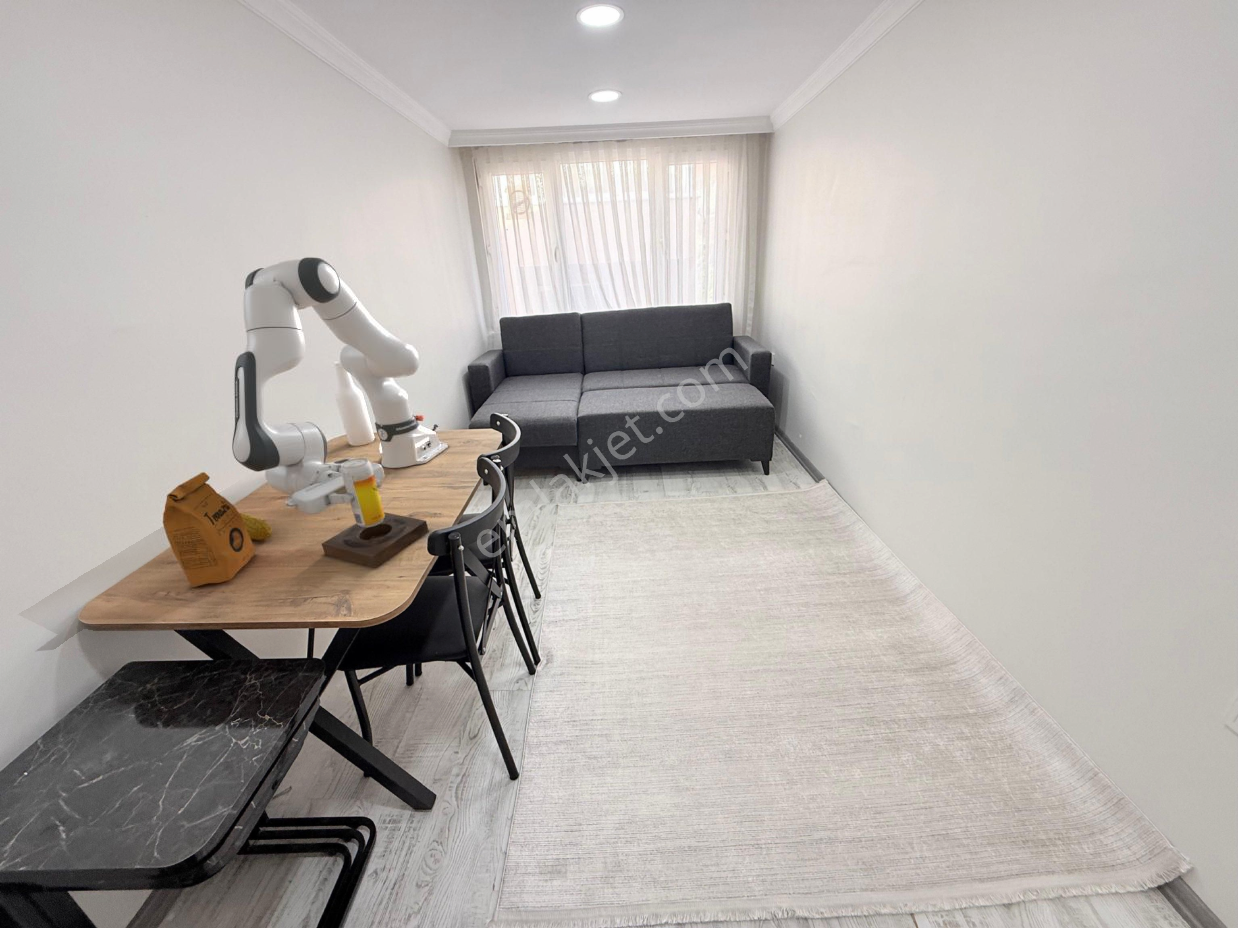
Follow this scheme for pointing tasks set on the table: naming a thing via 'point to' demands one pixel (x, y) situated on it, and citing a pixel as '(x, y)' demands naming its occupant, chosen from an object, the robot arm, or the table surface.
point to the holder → (375, 540)
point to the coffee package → (205, 532)
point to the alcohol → (352, 409)
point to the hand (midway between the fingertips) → (365, 491)
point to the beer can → (363, 492)
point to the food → (256, 527)
